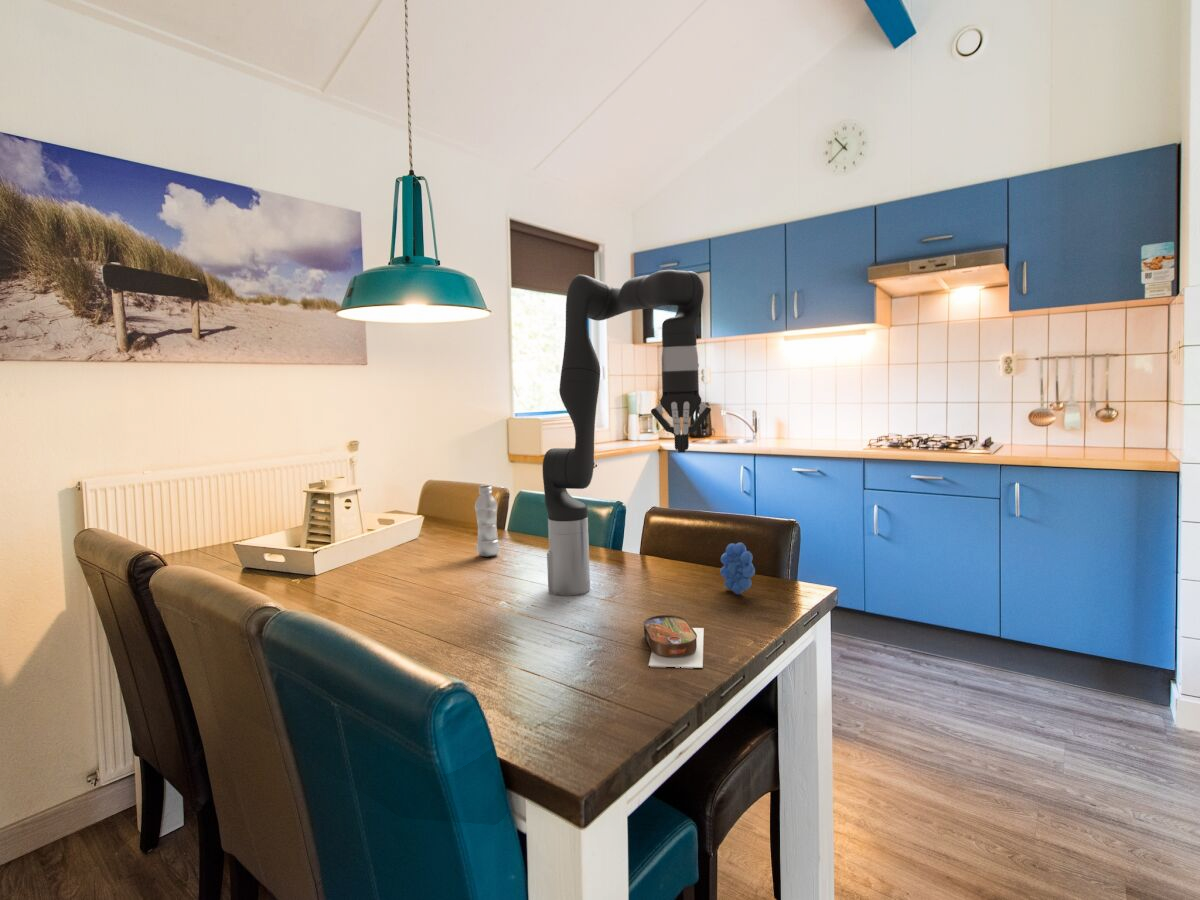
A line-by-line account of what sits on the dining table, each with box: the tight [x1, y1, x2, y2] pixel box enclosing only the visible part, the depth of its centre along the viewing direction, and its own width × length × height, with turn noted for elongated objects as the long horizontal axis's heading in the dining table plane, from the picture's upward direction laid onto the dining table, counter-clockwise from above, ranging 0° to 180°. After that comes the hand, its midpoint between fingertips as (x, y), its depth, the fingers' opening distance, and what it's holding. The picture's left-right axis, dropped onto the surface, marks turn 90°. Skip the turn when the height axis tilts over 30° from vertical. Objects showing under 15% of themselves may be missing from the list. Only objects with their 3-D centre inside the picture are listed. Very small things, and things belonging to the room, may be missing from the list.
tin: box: [643, 614, 697, 657], centre depth 123 cm, size 15×3×8 cm
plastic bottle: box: [474, 485, 501, 557], centre depth 191 cm, size 6×7×20 cm
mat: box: [648, 627, 705, 669], centre depth 122 cm, size 9×18×1 cm, turn 171°
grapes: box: [719, 542, 756, 595], centre depth 151 cm, size 12×7×12 cm, turn 23°
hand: (682, 452), depth 142 cm, fingers closed
